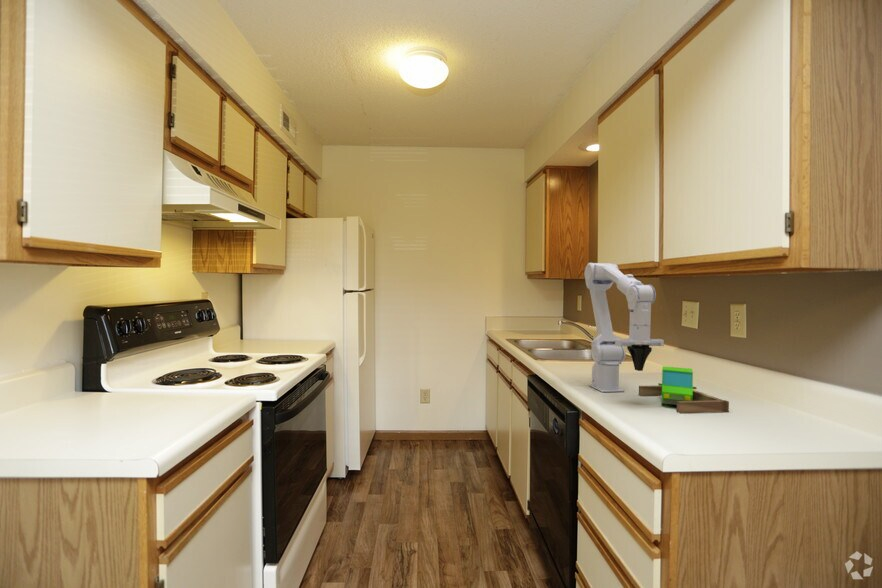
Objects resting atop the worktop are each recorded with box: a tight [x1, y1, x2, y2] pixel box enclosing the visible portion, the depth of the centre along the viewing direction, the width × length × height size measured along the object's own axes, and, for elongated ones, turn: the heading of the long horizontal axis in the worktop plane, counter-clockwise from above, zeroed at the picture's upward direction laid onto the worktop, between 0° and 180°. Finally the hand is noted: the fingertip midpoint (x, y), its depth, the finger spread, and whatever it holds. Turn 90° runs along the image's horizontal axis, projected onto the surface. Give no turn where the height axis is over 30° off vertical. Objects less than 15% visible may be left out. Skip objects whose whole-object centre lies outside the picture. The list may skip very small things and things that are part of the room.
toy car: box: [657, 365, 697, 406], centre depth 131 cm, size 10×13×10 cm
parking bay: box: [638, 385, 730, 414], centre depth 132 cm, size 20×15×3 cm
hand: (638, 370), depth 130 cm, fingers closed
